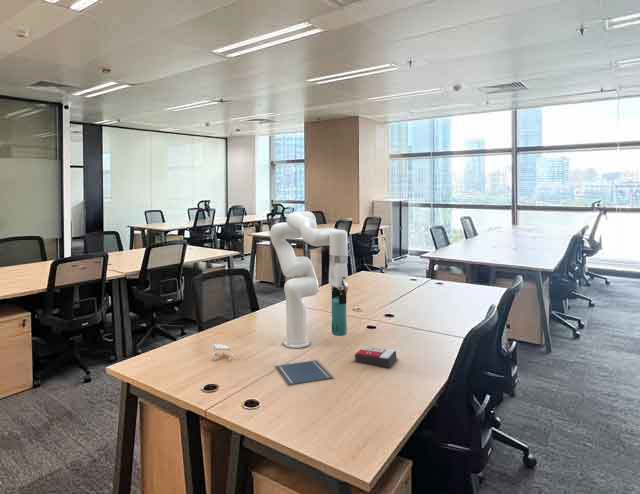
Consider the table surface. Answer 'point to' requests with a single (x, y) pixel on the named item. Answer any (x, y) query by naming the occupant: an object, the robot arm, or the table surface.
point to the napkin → (303, 372)
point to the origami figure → (221, 347)
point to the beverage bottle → (338, 316)
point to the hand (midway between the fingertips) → (339, 301)
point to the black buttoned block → (376, 356)
